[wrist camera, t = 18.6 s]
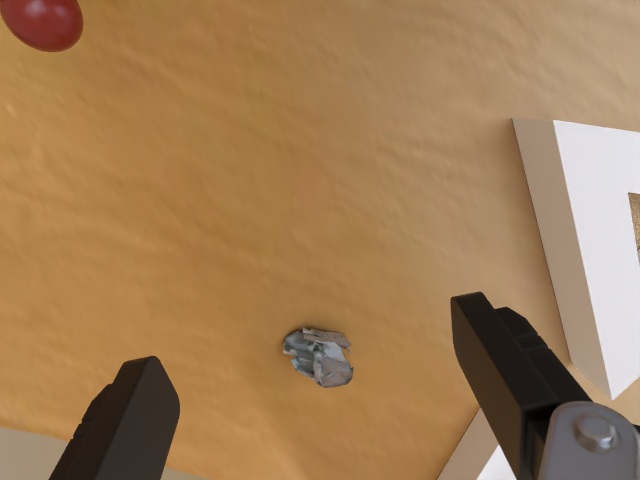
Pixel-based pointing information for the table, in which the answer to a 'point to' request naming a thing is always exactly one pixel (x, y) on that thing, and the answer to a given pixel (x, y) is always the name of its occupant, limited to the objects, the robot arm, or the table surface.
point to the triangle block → (589, 240)
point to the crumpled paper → (320, 356)
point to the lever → (44, 22)
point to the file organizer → (478, 455)
